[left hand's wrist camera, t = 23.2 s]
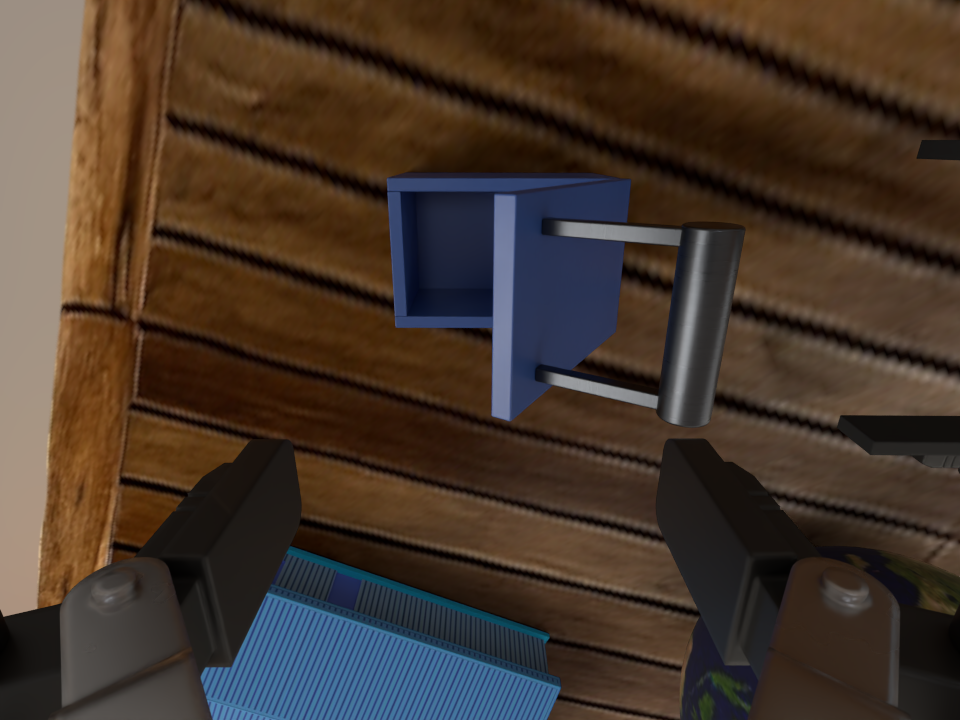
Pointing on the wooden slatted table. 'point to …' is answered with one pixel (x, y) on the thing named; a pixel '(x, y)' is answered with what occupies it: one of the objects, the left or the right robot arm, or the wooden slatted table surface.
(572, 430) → the wooden slatted table surface
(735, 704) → the globe
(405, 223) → the chest
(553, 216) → the lid
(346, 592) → the model building
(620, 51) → the wooden slatted table surface
